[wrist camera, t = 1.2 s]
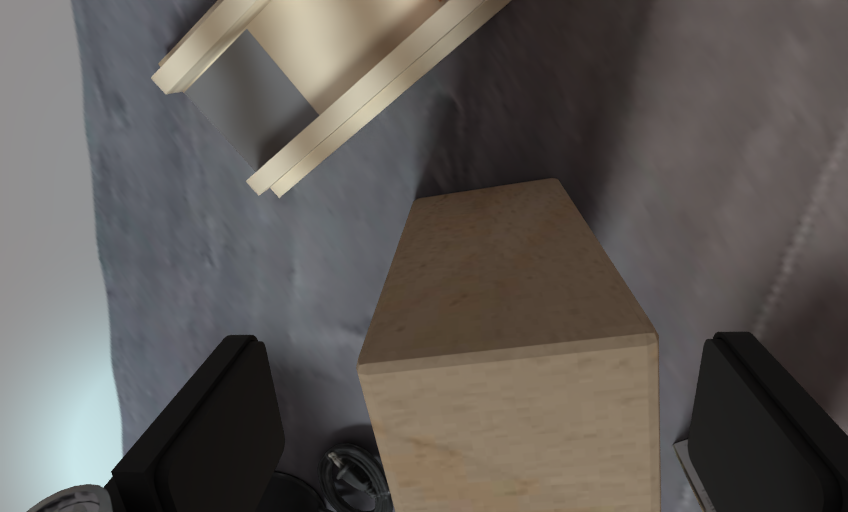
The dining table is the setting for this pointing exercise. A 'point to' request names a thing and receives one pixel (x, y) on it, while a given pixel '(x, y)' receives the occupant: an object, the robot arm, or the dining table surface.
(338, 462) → the milk frother
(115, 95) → the dining table surface
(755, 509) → the robot arm
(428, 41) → the chute
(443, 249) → the wooden block
